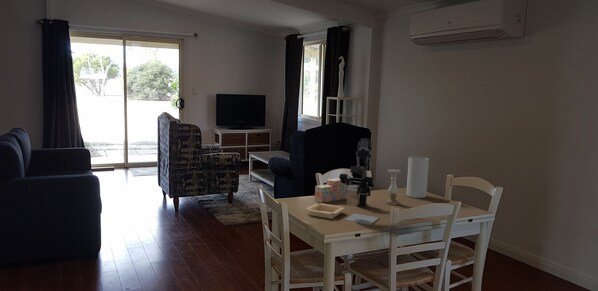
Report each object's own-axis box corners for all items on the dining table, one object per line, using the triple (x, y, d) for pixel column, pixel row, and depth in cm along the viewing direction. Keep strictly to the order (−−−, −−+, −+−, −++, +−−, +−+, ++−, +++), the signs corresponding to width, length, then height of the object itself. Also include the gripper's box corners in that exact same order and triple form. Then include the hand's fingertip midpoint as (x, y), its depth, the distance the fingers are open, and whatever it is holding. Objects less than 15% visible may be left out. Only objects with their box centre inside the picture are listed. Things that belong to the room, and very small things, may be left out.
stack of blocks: (321, 203, 268) (322, 182, 266) (314, 201, 273) (315, 180, 271) (346, 198, 282) (347, 179, 280) (339, 196, 286) (340, 177, 285)
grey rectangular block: (350, 202, 240) (351, 184, 239) (359, 204, 237) (360, 185, 236) (346, 204, 235) (347, 185, 234) (355, 206, 233) (356, 187, 232)
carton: (317, 208, 254) (317, 202, 254) (345, 213, 246) (346, 207, 246) (303, 215, 239) (303, 209, 238) (333, 221, 231) (334, 214, 231)
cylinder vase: (415, 193, 303) (417, 156, 300) (430, 197, 293) (432, 158, 290) (402, 195, 295) (404, 157, 292) (417, 199, 285) (420, 160, 282)
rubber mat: (353, 214, 245) (353, 213, 245) (379, 218, 239) (379, 217, 239) (344, 220, 232) (344, 219, 232) (370, 225, 226) (370, 224, 226)
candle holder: (390, 205, 267) (392, 171, 265) (382, 202, 275) (384, 169, 273) (402, 204, 270) (404, 171, 268) (394, 201, 278) (396, 168, 276)
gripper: (341, 158, 241) (331, 182, 233) (374, 162, 233) (366, 186, 224) (346, 171, 249) (337, 194, 241) (378, 174, 241) (370, 199, 232)
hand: (352, 193), depth 234 cm, fingers closed on grey rectangular block, 5 cm apart
